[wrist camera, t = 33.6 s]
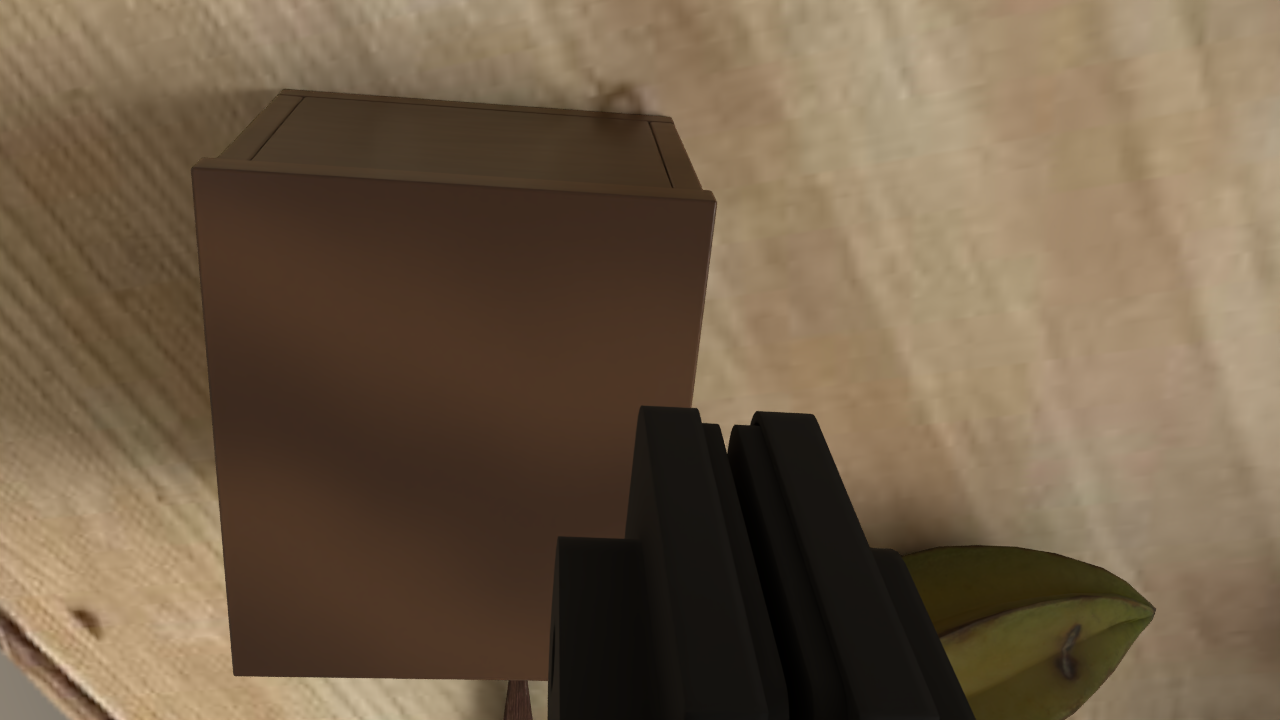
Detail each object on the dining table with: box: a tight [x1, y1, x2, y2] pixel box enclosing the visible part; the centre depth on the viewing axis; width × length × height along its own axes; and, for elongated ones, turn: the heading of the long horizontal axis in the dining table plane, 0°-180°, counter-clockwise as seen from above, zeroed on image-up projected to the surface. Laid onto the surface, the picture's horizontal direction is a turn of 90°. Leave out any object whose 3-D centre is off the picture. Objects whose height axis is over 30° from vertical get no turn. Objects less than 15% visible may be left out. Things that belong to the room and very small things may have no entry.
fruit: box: [901, 545, 1156, 720], centre depth 36 cm, size 11×12×7 cm
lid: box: [191, 158, 717, 681], centre depth 25 cm, size 13×10×1 cm
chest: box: [218, 89, 703, 190], centre depth 29 cm, size 12×10×8 cm
